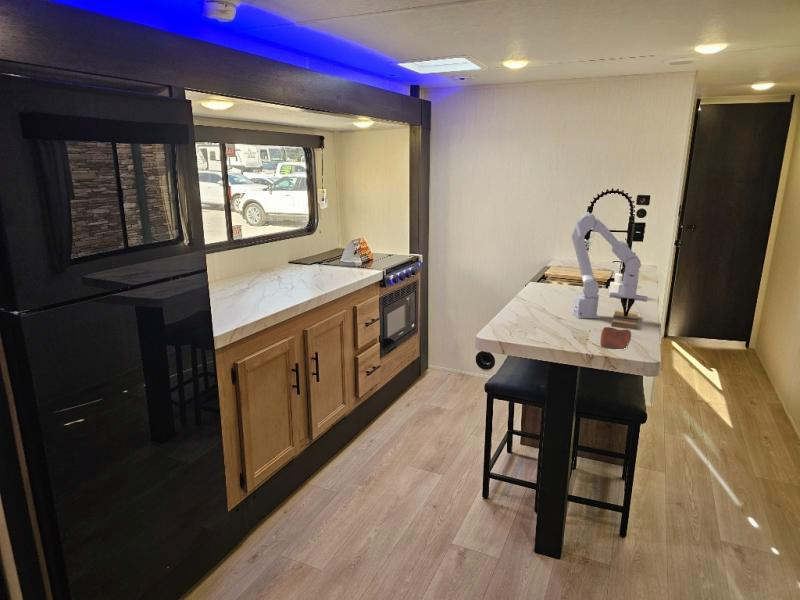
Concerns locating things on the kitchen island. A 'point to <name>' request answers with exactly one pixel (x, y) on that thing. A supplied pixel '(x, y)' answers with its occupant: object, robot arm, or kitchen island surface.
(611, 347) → the wooden tablet
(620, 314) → the oak plank
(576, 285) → the kitchen island surface
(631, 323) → the walnut board
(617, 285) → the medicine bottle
